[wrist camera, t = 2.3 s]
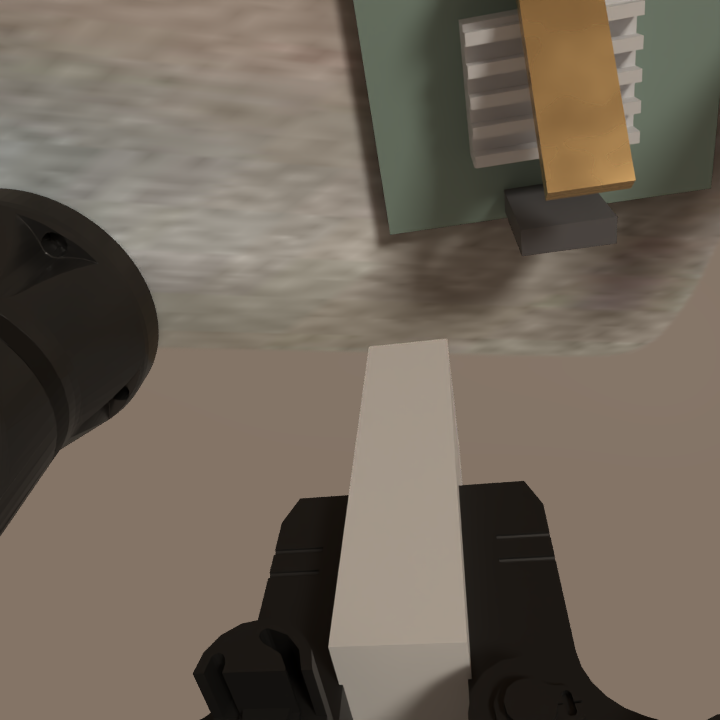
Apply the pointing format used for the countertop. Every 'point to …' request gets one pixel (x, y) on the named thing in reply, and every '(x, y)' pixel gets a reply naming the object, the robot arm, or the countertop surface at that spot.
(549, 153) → the strap
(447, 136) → the clamp base
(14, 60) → the countertop surface
